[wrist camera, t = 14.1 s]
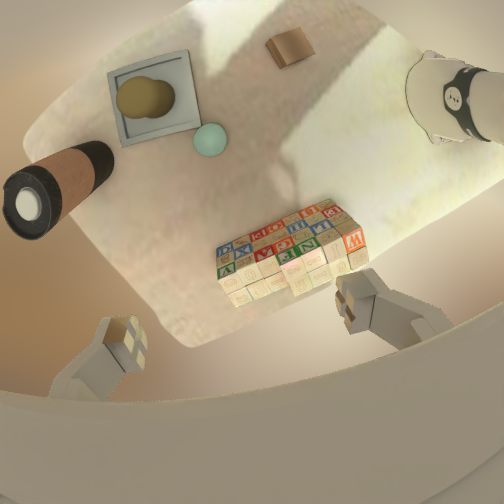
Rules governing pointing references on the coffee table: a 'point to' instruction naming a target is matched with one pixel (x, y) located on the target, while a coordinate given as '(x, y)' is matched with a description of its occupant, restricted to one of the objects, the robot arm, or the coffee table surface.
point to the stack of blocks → (292, 254)
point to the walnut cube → (289, 47)
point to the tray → (183, 111)
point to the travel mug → (54, 187)
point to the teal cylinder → (210, 140)
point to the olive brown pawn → (145, 98)
